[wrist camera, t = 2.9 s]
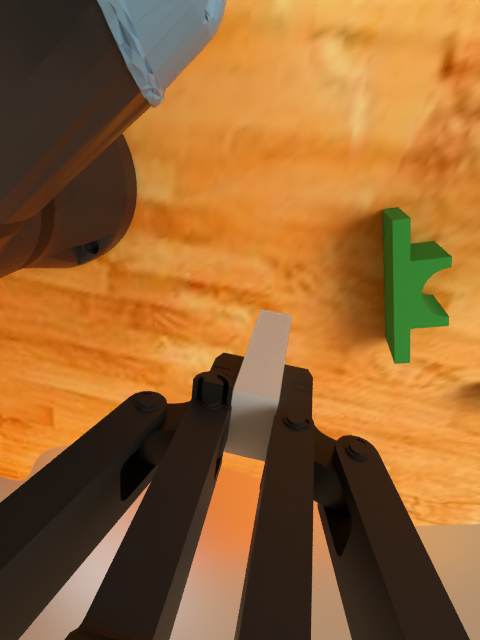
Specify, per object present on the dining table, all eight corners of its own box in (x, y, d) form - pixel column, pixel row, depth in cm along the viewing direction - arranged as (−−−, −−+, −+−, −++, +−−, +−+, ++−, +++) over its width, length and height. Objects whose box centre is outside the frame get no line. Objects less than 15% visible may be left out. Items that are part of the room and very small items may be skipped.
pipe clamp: (431, 333, 33) (447, 361, 29) (385, 336, 34) (394, 364, 30) (435, 200, 28) (454, 212, 24) (381, 208, 29) (392, 220, 25)
